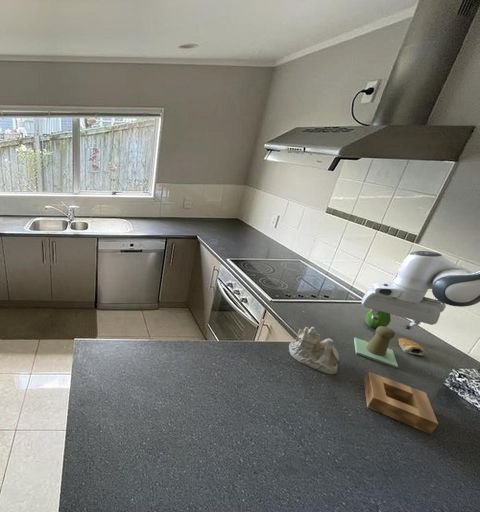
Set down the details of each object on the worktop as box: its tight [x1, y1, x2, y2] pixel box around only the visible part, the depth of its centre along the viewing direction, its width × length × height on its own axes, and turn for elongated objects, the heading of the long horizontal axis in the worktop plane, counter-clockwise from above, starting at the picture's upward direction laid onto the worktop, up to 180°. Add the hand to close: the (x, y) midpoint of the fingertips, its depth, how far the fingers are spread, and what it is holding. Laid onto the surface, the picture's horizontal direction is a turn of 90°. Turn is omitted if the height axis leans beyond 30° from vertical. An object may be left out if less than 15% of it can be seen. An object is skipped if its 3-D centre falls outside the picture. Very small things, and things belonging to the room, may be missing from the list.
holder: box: [362, 370, 439, 435], centre depth 90 cm, size 14×14×4 cm
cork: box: [366, 326, 396, 356], centre depth 111 cm, size 6×6×11 cm
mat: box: [353, 337, 399, 369], centre depth 114 cm, size 12×12×1 cm
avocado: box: [365, 309, 392, 329], centre depth 128 cm, size 8×8×12 cm
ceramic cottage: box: [288, 326, 340, 375], centre depth 108 cm, size 16×16×15 cm
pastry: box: [398, 337, 426, 356], centre depth 117 cm, size 9×7×4 cm
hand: (390, 323), depth 108 cm, fingers open, 8 cm apart
